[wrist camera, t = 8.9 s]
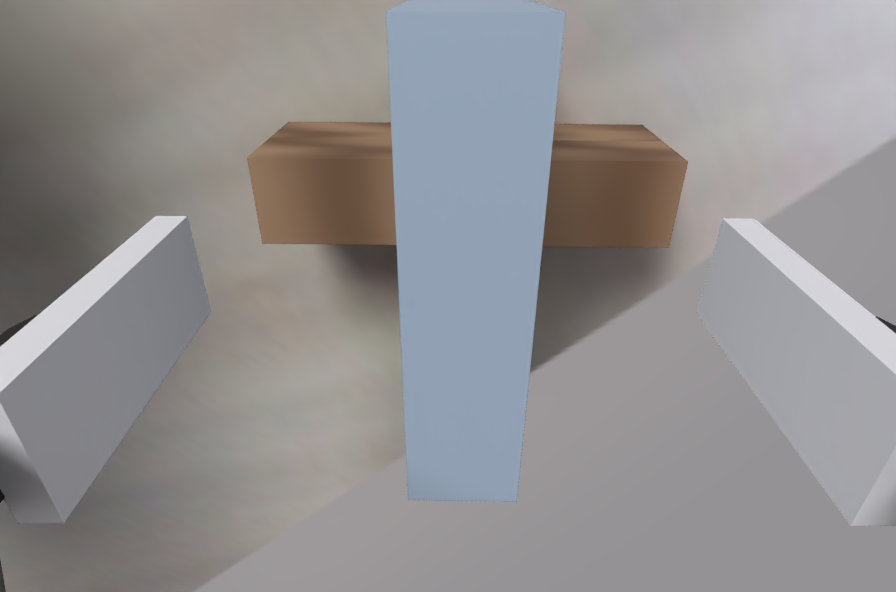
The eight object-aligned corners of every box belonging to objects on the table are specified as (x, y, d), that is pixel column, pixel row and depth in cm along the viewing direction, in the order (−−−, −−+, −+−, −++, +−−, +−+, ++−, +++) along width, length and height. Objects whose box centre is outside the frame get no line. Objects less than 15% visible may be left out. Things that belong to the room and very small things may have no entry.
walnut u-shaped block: (298, 194, 23) (262, 243, 19) (288, 121, 22) (246, 157, 18) (629, 197, 23) (668, 247, 19) (642, 124, 22) (687, 161, 18)
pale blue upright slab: (427, 288, 26) (408, 500, 15) (423, -7, 20) (385, 11, 9) (492, 288, 26) (517, 501, 15) (508, -7, 20) (565, 12, 9)
